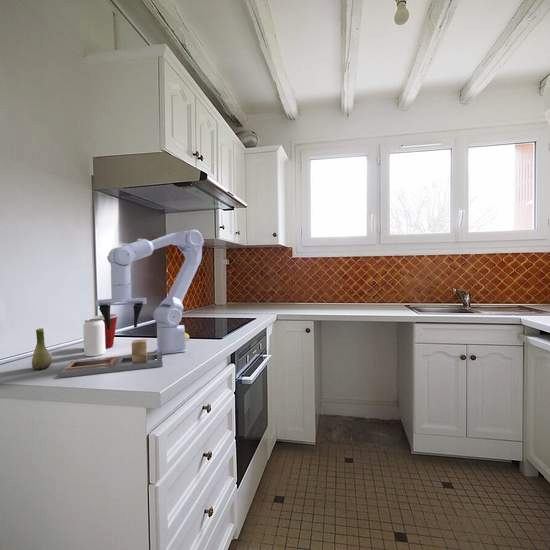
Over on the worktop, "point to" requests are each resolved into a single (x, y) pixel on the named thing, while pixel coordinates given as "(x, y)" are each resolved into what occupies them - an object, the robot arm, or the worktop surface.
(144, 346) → the oak peg
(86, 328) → the can
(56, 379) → the worktop surface
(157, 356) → the rail plate
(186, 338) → the bread roll
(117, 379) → the worktop surface
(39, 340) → the fennel bulb
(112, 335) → the plastic cup
